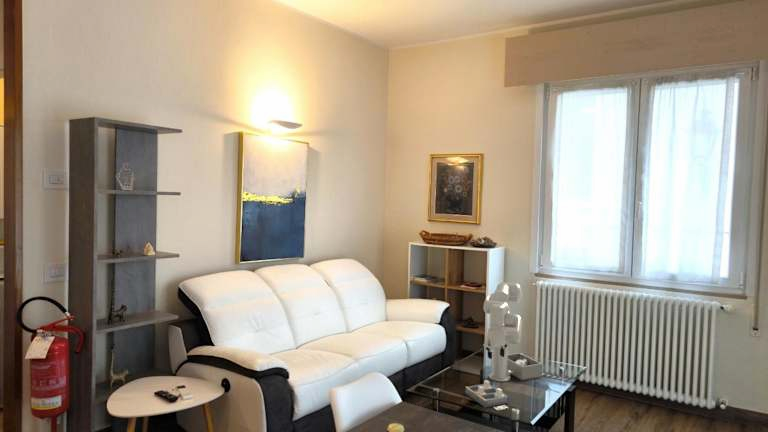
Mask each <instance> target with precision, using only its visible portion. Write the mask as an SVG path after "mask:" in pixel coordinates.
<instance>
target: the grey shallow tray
mask: <svg viewBox="0 0 768 432" xmlns="http://www.w3.org/2000/svg"><path fill="white" fill-rule="evenodd" d="M478 386H484V383H482V384H474V385H470V386H465V387H464V393H466V394H465V395H467V396H468V397H470V398H471V399H473V400H474V401H475V402H476V403H478V404H479V405H481V406H482V407H484V408H490V407H496V406H501V405H505V404H509V402H510V401H509V400H510V399H509V398H510V396H509V395H507V394H506V393H504V392H502V394H503V395H504V396H502V397H497V398H494V394H496V387H495V386H493V385H492V384H490V387H492V388H488V389H484V393H486V394H483V395H478V394H477V393H476V392H478Z"/></svg>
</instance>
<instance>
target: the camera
mask: <svg viewBox="0 0 768 432" xmlns="http://www.w3.org/2000/svg"><path fill="white" fill-rule="evenodd" d="M520 353H521V354H520V356H521V357H519V358H518V360H517V361H516V362H515V363H517V364H519V365H521V366H528V360H527V358H524V357H523V356H522V354H524V353H523V352H520Z"/></svg>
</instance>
